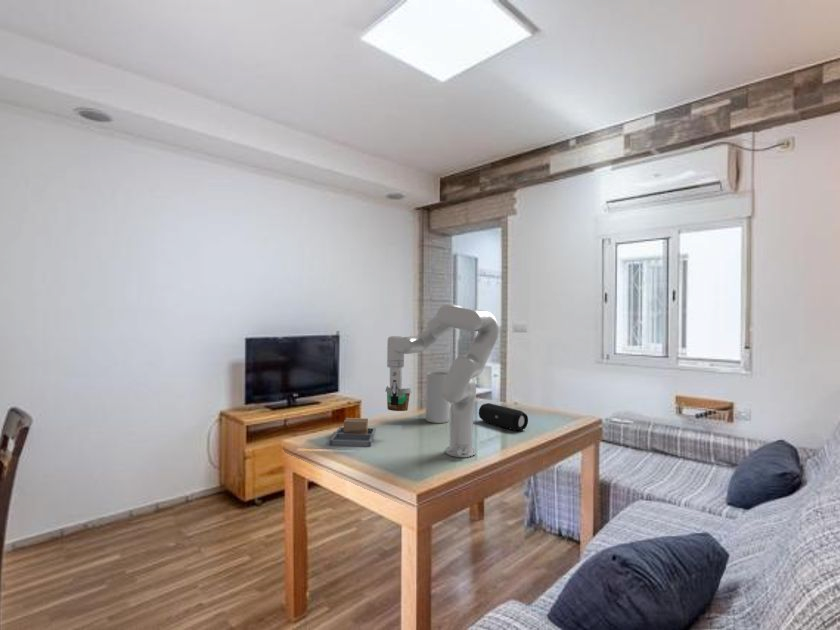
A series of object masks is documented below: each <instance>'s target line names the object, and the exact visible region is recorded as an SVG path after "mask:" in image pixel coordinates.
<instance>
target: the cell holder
mask: <svg viewBox="0 0 840 630" xmlns="http://www.w3.org/2000/svg"><path fill="white" fill-rule="evenodd" d="M376 433H377V428H375V427H368V434H348V433H344V426H339V427H338V429H337V430H336V431H335V433H334V434H333V436H332V437H331V439H329V446H333V447H334V446H336V447H337V446H341V447H367V448H369V447H372V444H373V442H374V439H375V435H376Z"/></svg>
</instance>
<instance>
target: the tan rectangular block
mask: <svg viewBox="0 0 840 630" xmlns="http://www.w3.org/2000/svg"><path fill="white" fill-rule="evenodd" d="M368 425H369V418H360V417H345V419H344V420H343V427H344V433H348V434H368V428H369V426H368Z"/></svg>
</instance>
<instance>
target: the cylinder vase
mask: <svg viewBox="0 0 840 630" xmlns="http://www.w3.org/2000/svg"><path fill="white" fill-rule="evenodd" d="M447 374H448V372H446V371H429V372H427V373H426V391H425V392H426V394H425V397H426V398H425V399H426V400H425V402H426V403H425V420H426V421H427V422H428V423H431V424H446V423H448V422H450V410H451V403H449V402H447V401H446V400H445V399H444V398H443V396H442V386H443V383H444V381H445V378H446V376H447Z"/></svg>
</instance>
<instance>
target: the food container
mask: <svg viewBox="0 0 840 630" xmlns="http://www.w3.org/2000/svg"><path fill="white" fill-rule="evenodd" d="M396 389H397V388H396ZM384 390H385V392H386V401H387V403H386V405H387V410H388V411H393V412H404V411H405V412H406V411H408V410H409V403H410V395H411V393H412V389H411V388H409V387H407V388H401V390H399V389H398V405H391V393H392V390H391V389H390V386H388V385H387V386H386V388H385V389H384ZM396 392H397V391H396Z"/></svg>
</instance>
